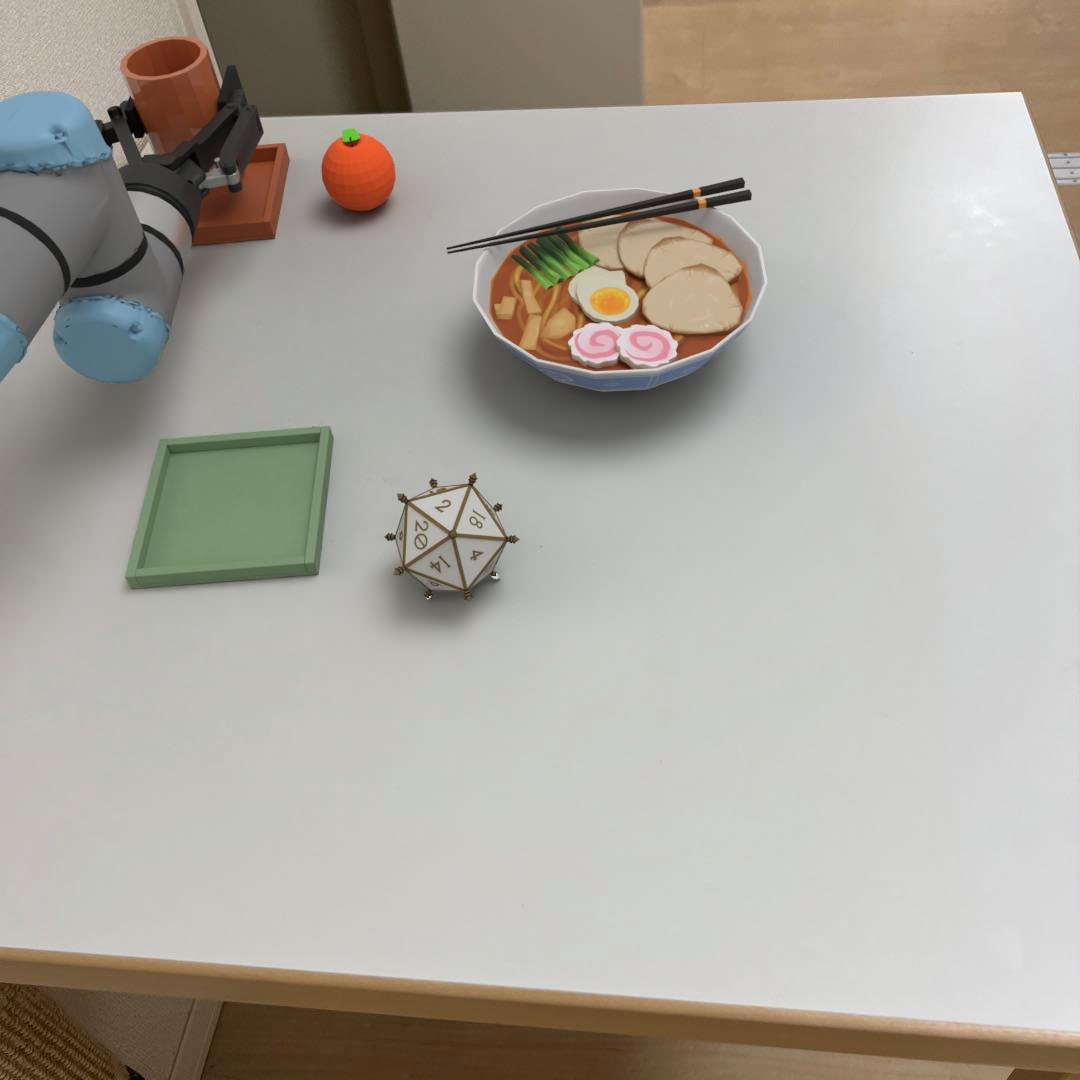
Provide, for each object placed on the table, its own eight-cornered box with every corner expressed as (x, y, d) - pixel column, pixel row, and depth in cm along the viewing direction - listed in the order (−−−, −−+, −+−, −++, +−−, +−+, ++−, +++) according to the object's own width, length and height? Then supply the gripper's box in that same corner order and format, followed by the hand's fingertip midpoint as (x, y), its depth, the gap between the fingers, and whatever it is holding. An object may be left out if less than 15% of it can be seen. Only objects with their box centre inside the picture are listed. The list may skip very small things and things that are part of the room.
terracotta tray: (135, 250, 101) (127, 233, 100) (160, 170, 110) (154, 154, 108) (274, 238, 101) (269, 221, 99) (289, 159, 109) (285, 142, 108)
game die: (481, 620, 76) (492, 625, 66) (369, 579, 76) (362, 578, 66) (524, 504, 77) (541, 491, 67) (413, 462, 76) (413, 443, 66)
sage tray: (131, 588, 76) (124, 577, 75) (165, 451, 84) (159, 439, 83) (318, 574, 75) (313, 562, 74) (333, 437, 84) (329, 425, 83)
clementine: (324, 186, 106) (306, 120, 100) (392, 172, 106) (379, 105, 101) (336, 232, 101) (318, 165, 95) (407, 216, 101) (394, 148, 96)
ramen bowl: (494, 474, 80) (481, 395, 74) (450, 287, 94) (436, 207, 88) (814, 411, 82) (829, 328, 75) (723, 236, 96) (729, 155, 90)
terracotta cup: (154, 198, 102) (104, 77, 92) (187, 154, 106) (143, 34, 97) (227, 203, 100) (184, 81, 91) (258, 158, 105) (220, 37, 95)
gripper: (40, 276, 90) (99, 130, 104) (283, 255, 89) (309, 110, 103) (-2, 199, 84) (67, 54, 98) (257, 175, 83) (289, 33, 97)
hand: (191, 83), depth 101 cm, fingers closed on terracotta cup, 8 cm apart
